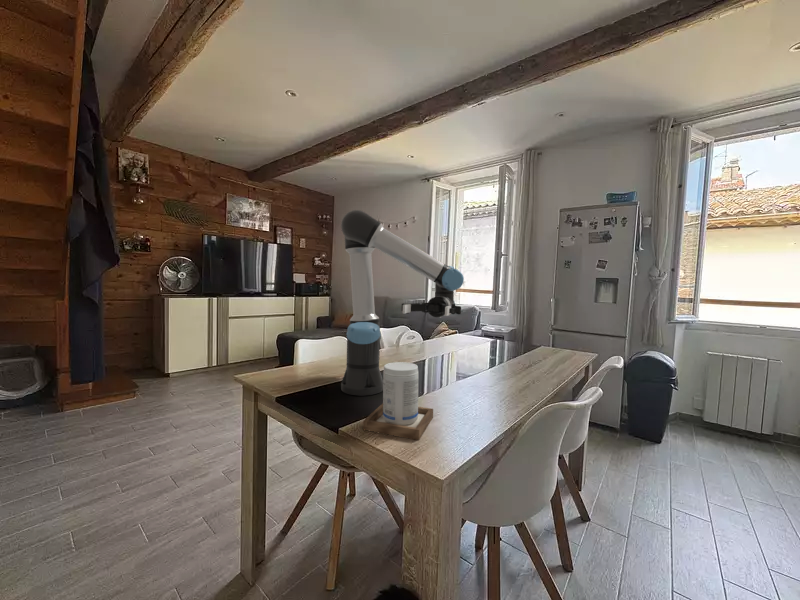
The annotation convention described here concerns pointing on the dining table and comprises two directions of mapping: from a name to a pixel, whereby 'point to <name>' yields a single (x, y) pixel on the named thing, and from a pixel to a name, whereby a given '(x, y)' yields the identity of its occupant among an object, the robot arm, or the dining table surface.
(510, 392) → the dining table surface
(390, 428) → the holder tray
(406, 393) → the supplement tub
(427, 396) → the dining table surface
